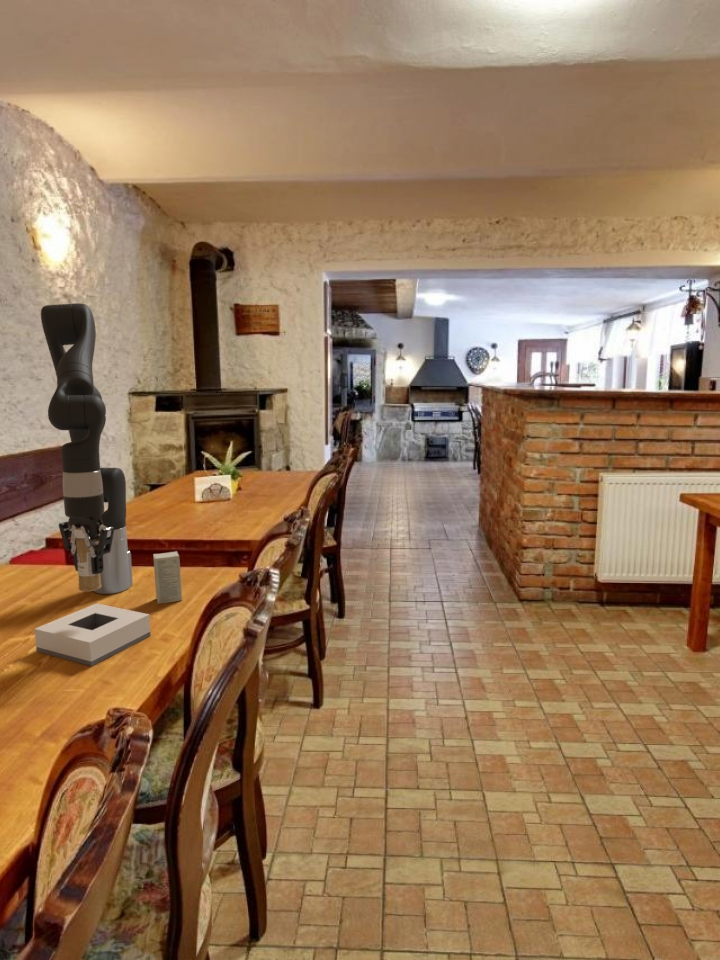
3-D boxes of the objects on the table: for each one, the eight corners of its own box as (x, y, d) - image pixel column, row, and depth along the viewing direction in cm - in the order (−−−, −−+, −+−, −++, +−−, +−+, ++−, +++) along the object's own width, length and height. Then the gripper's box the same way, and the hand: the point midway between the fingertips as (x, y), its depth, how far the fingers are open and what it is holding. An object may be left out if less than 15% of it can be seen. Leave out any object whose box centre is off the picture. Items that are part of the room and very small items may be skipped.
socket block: (98, 623, 141) (96, 603, 140) (150, 635, 134) (149, 614, 133) (36, 651, 127) (34, 628, 126) (91, 666, 120) (89, 642, 119)
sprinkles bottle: (74, 589, 128) (70, 527, 126) (95, 583, 131) (91, 523, 129) (85, 593, 125) (80, 530, 123) (106, 588, 129) (101, 526, 126)
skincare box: (180, 595, 159) (178, 550, 157) (182, 601, 155) (180, 555, 153) (155, 598, 157) (152, 553, 155) (156, 604, 153) (154, 558, 151)
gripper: (123, 492, 125) (127, 571, 128) (74, 487, 131) (80, 562, 134) (93, 498, 119) (99, 581, 121) (43, 492, 125) (50, 572, 127)
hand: (89, 571), depth 128 cm, fingers closed on sprinkles bottle, 4 cm apart
